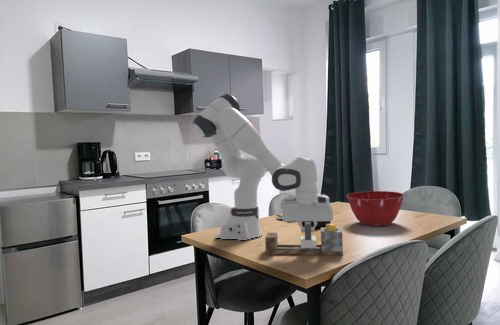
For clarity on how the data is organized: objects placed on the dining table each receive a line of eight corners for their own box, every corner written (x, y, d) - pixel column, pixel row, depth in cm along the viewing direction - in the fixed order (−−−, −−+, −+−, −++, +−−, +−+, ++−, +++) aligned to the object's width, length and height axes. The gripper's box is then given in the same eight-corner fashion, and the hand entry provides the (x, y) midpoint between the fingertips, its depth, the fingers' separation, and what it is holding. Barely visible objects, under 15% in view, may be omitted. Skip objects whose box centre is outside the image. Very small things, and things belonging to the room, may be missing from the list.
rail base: (266, 254, 143) (264, 232, 143) (268, 249, 151) (267, 227, 151) (343, 255, 138) (342, 232, 138) (341, 249, 146) (340, 227, 145)
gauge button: (326, 237, 141) (325, 225, 141) (326, 234, 145) (325, 223, 144) (336, 237, 140) (336, 225, 140) (336, 234, 144) (335, 223, 144)
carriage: (300, 248, 141) (299, 225, 141) (301, 243, 148) (300, 221, 148) (316, 248, 140) (315, 225, 140) (316, 243, 147) (315, 221, 147)
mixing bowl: (357, 231, 174) (356, 199, 173) (341, 219, 202) (340, 192, 202) (415, 228, 175) (414, 196, 174) (390, 216, 203) (389, 189, 202)
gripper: (280, 199, 142) (281, 234, 142) (332, 198, 138) (334, 234, 139) (281, 197, 148) (282, 230, 149) (332, 196, 144) (333, 230, 145)
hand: (308, 232), depth 144 cm, fingers closed on carriage, 2 cm apart
